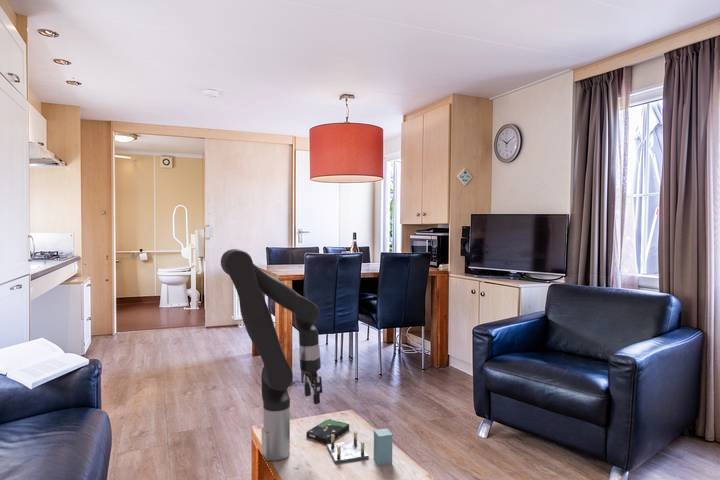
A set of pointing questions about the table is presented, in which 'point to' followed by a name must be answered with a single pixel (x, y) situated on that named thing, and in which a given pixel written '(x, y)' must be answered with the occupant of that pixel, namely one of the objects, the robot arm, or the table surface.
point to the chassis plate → (347, 450)
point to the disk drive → (327, 431)
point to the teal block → (383, 446)
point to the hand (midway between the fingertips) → (312, 399)
